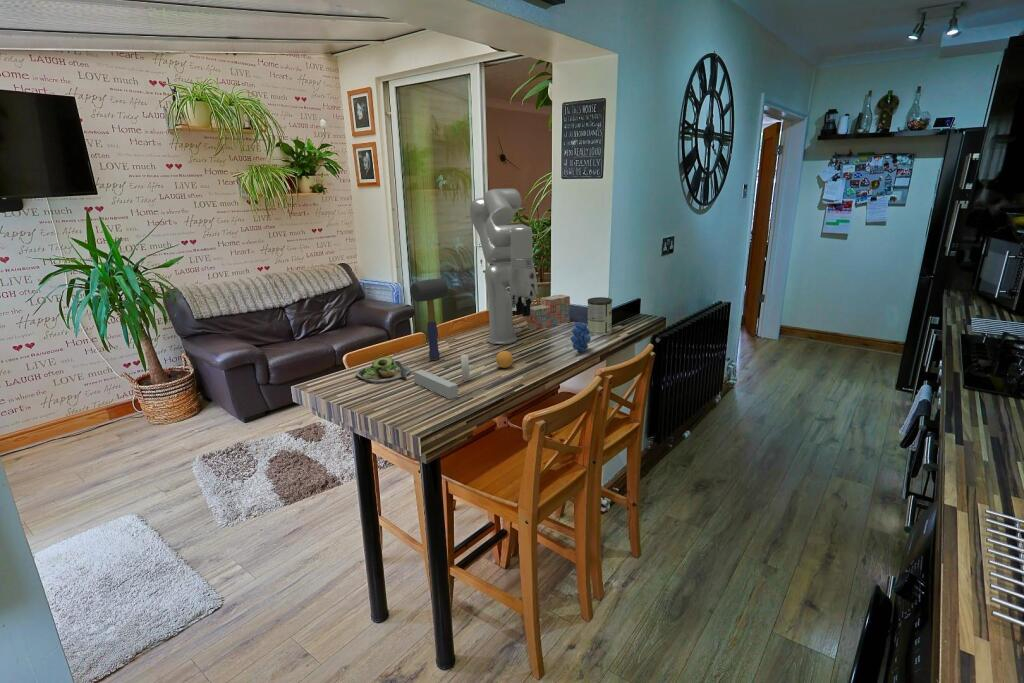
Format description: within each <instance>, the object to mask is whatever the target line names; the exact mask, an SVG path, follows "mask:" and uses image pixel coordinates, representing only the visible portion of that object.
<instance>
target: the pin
mask: <svg viewBox="0 0 1024 683" xmlns="http://www.w3.org/2000/svg"><path fill="white" fill-rule="evenodd" d="M469 362H470V361H469V354H465V353H464V354H461V355H460V363H461V366H460V367H461V377H462V378H461V381H462V380H469V381H470V364H469Z"/></svg>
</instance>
